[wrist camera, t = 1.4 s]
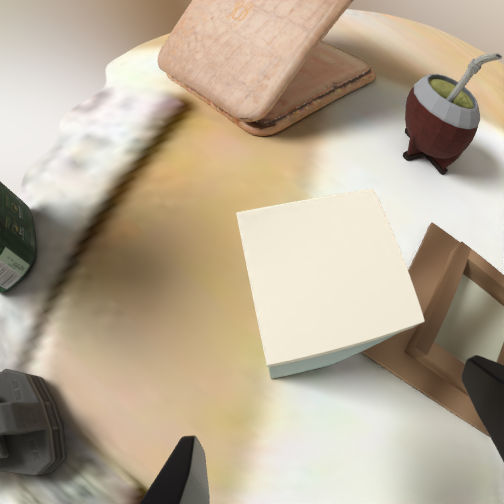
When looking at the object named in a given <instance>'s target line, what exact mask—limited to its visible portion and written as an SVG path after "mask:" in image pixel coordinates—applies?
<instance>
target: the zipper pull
mask: <svg viewBox="0 0 504 504" xmlns="http://www.w3.org/2000/svg"><path fill="white" fill-rule="evenodd" d="M66 458H67V456H66V448H65V439H64V429H63V425H62V422H61V419H60V416H59V413H58V410H57V406H56V403H55V401H54V400H53V398H52V396H51V394H50V392H49V390H48V389H47V387H46V385H45V383H44V381H43V379H42V378H41V377H39V376H35V375H31V374H27V373H23V372H18V371H14V370H9V369H5V370H3V371H2V372H0V471H5V472H12V473H19V474H27V475H35V476H36V475H41V474H46V473H51V472H53V471H54V470H55V469H56V468H57V467H58V466H59V465H60V464H61V463H62V462H63V461H64V460H65V459H66Z"/></svg>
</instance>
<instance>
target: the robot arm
mask: <svg viewBox="0 0 504 504" xmlns="http://www.w3.org/2000/svg"><path fill="white" fill-rule="evenodd" d="M461 379H462V383H463V385H464V387H465V389H466V391H467V393H468V395H469V397H470V399H471V402H472V404H473V406H474V408H475V410H476V412H477V414H478V416H479V418H480V420H481V421H482V423H483V425H484V427H485V428H486V430H487V432H488V434H489V435H490V437H491V439H492V441H493V443H494V444H495V446H496V448H497V450H498V452H499V454H500V456H501V458H502V459H503V461H504V365H503V364H500V363H497V362H495V361H492V360H489V359H487V358H484V357H482V356H479V355H474V356H472V357H470V358H468V359H467V360H466V363H465V366H464V369H463V372H462V376H461ZM209 503H210V501H209V487H208V478H207V469H206V459H205V452H204V449H203V447H202V446H201V444H200V442H199V440H198V439H197V437H196V436H184V437H182V438H181V439H180V441H179V442H178V444H177V445H176V447H175V449H174V450H173V452H172V454H171V455H170V457H169V458H168V460H167V462H166V463H165V465H164V466H163V468H162V469H161V471H160V473H159V474H158V476H157V477H156V479H155V480H154V482H153V484H152V485H151V487H150V488H149V490H148V491H147V493H146V494H145V496H144V497H143V499H142V501H141V502H140V504H209Z"/></svg>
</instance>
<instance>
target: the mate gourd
mask: <svg viewBox="0 0 504 504" xmlns="http://www.w3.org/2000/svg"><path fill="white" fill-rule="evenodd" d="M501 58H502V56H501V55H500V54H497V53H496V54H486V55H482V56H480V57H478V58H476V59H473V60H472V61H471V62H470V64H469V65H468V69H467V71H466V72H465V74H464V75H463V77H462V78H461V80H460V81H459V82H457V81H455V80H453V79H451V78H449V77H446V76H443V75H439V74H429V75H427V76H424V77H423V78H421V79H420V80H419V81H418V82H417V83H415V84H414V87H413V88H412V90H411V91H410V93H409V95H408V97H407V102H406V113H405V121H406V127H407V128H406V129H405V133H406V134H407V135H408V137H409V138H410V141H409V148H408V151H406V152H404V153H403V157H404V158H405V159H406V160H407V161H409V160H412V159H415V158H418V157H421V156H426V157H427V158H428V159H429V160H430V162H431V163H432V164H433V165H434V166H435V168H436V169H437V170H438V171H439V172H440V174H442V175H443V174H445V173H446V172H447V171H448V170H447V169H446V167H447V166H449V165H450V164H451V163H453V162H454V161H455V160H456V159H457V158H458V157H459V156H460V155H461V153H462V152H463V151H464V150H465V149H466V148H467V147H468V146H469V144H470V143H471V142H472V140H473V138H474V136H475V133H476V131H477V128H478V124H479V122H480V113H479V108H478V104H477V101H476V99H475V97H474V96H473V95H472V93H471V92H470V91H469V90H467V89H466V88H465V87H464V86H465V85H466V84H467V82H468V81H469V80H470V78H471V77H472V76H473V74H476V73H477V72H478V71H479V70H480V69H481V65H482V64H484V63H486V62H489V61H493V60H497V59H501Z"/></svg>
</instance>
